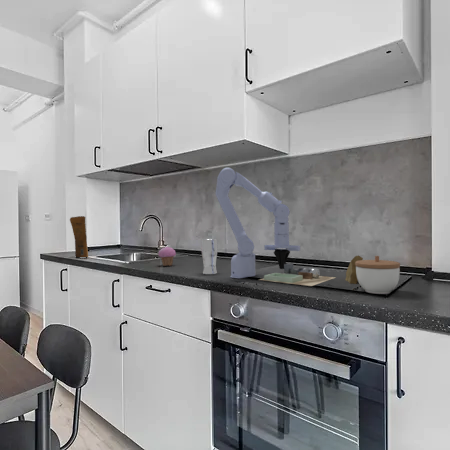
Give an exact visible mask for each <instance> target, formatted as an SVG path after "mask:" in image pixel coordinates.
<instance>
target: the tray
mask: <svg viewBox="0 0 450 450" xmlns="http://www.w3.org/2000/svg"><path fill="white" fill-rule="evenodd" d="M283 273H284V272H283ZM283 273H282V272H272V273H269V274H264V275H263V278H264V280H270V281H269V282H273V281H279V282H278V283H281V282H288V283H287V284H290V283H294V282H297V281H301V280H303V275H293V274H283ZM264 280H263V281H264Z"/></svg>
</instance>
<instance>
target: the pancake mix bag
mask: <svg viewBox="0 0 450 450" xmlns="http://www.w3.org/2000/svg"><path fill="white" fill-rule="evenodd" d="M69 222H70V226H71V229H72V233H73V237H74V250H75V251H74V252H75V253H74V254H75V255H74V257H75V256H76V257H88V258H89V251H88V240H87V238H88V237H87V227H86V225H87V224H86V216H83V215H82V216H81V215H80V216H70V218H69Z"/></svg>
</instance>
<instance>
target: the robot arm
mask: <svg viewBox="0 0 450 450" xmlns="http://www.w3.org/2000/svg"><path fill="white" fill-rule="evenodd" d="M216 179H217V180H216V188H215V197H216V199H217V201H218V203H219V205H220V208H221V210H222V212H223V214H224V216H225V218H226V221H227V222H228V225H229V227H230V230H231V231H232V233H233V234H234V238H235V240H236V242H237V250H238V253H236V254H234V255H233V256H232V257H231V260H230V276H229V278H231V279H232V278H233V279H234V278H235V279H243V278H248V277H255V276H256V253H254V250H255V245H254V242H253V240H252V239H251V238H249V236H248V235H247V232H246V230H245V229H244V225H243V224H242V222H241V219H240V218H239V215H238V214H237V211H236V209H235V207H234V205H233V202H232V201H231V199H230V197H229V193H230V190H231V188H232V187H233V186H235V187H241V188H242V189H245V190H246V191H247V192H249V193H250V194H251V195H252V196H254V197H256V198H257V203H258V204H260V206H261V207H263V208H264V209H266V210H267V211H268V212H269V213H273V216H274V223H273V224H274V225H273V226H274V227H273V228H274V229H273V231H274V232H273V233H274V235H273V236H274V244H265V245H264V249H263V250H265V251H273V254H274V256H275V258H276V260H277V263H278V267H279V270H284V264H287V261H288V257H290V254H291V252H300V251H301V245H292V244H291V245H290V223H289V217H290V216H289V215H290V213H291V210H290V209H289V207H288V205H286V204H284V203H282V202H283V201H282V200H281V199H280V200H279V198H276V197H275V196H274V193H273V192H271V191H270V192H269V191H262V190H261V189H260V188H258V187H257V186H256V185H255V184H253V182H251V181H250V180H249V179H247V178H246V177H245V176H244V175H242V174H241V173H240V172H238V171H235V170H234V169H233V168H231V167H224V168H222V169H221V170H220V171H219V173H218V175H217V178H216Z"/></svg>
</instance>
